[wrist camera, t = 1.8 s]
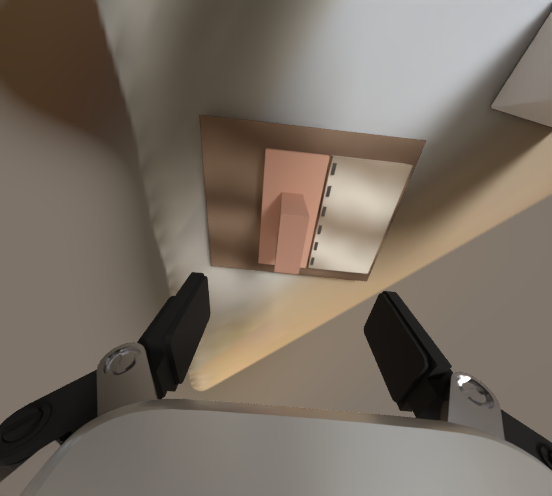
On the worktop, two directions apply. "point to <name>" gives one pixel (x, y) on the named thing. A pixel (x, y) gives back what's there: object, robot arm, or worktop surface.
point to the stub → (290, 207)
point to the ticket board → (334, 200)
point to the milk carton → (531, 81)
